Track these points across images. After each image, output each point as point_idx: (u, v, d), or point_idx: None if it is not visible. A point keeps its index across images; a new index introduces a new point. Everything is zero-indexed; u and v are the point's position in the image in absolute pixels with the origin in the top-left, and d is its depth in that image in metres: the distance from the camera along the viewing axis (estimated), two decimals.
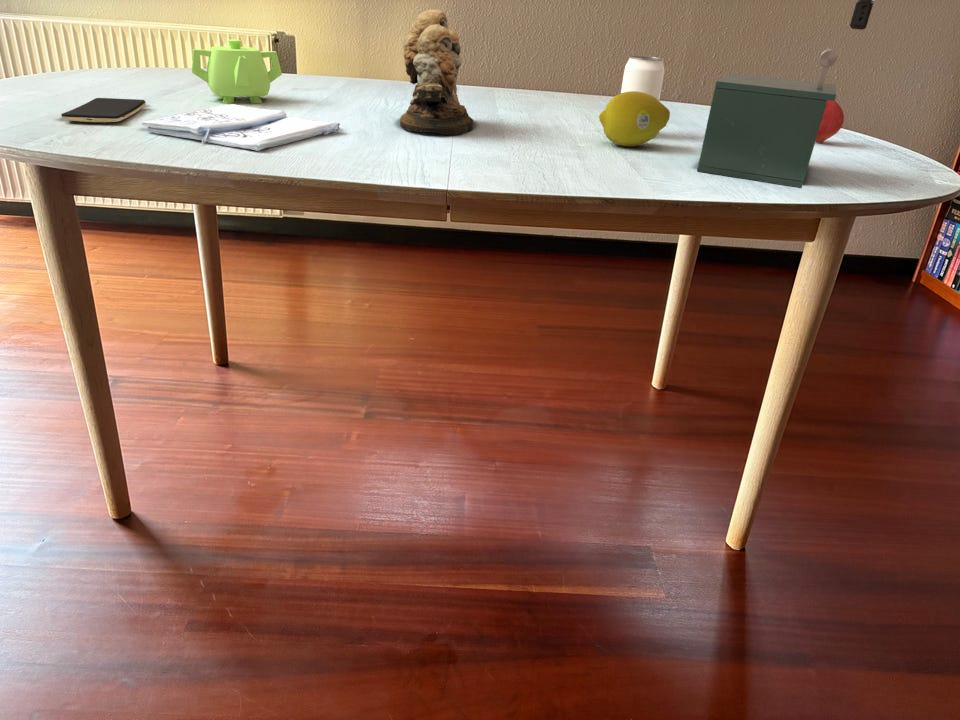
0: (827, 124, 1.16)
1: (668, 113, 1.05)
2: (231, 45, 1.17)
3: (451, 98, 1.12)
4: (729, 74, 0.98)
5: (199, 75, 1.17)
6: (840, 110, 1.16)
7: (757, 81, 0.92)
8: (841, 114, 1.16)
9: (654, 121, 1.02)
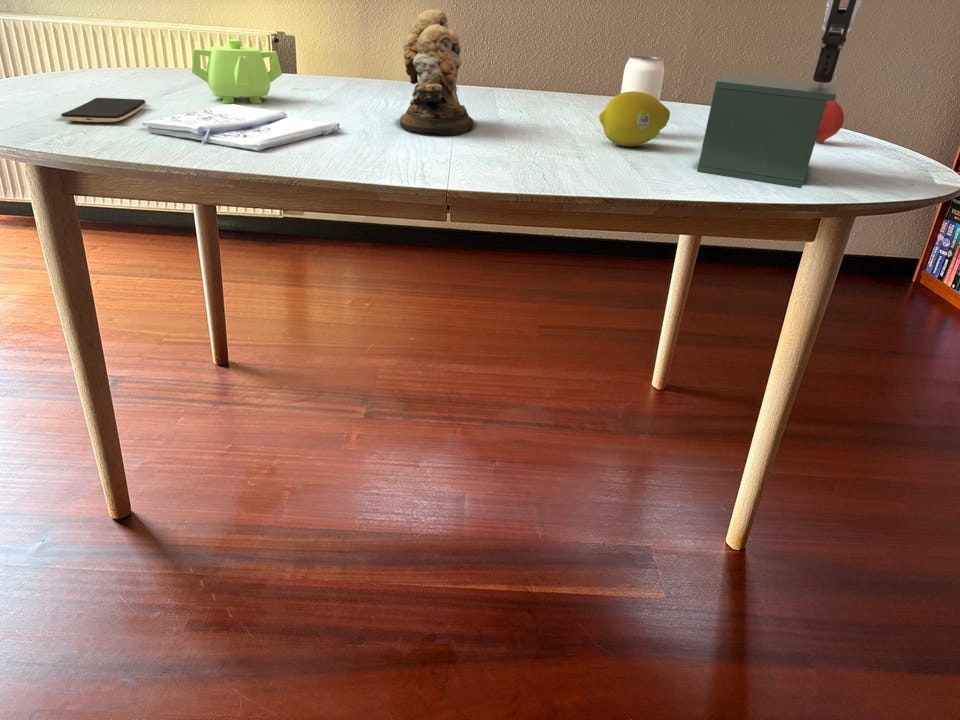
0: (827, 124, 1.16)
1: (668, 113, 1.05)
2: (231, 45, 1.17)
3: (451, 98, 1.12)
4: (729, 74, 0.98)
5: (199, 75, 1.17)
6: (840, 110, 1.16)
7: (757, 81, 0.92)
8: (841, 114, 1.16)
9: (654, 121, 1.02)
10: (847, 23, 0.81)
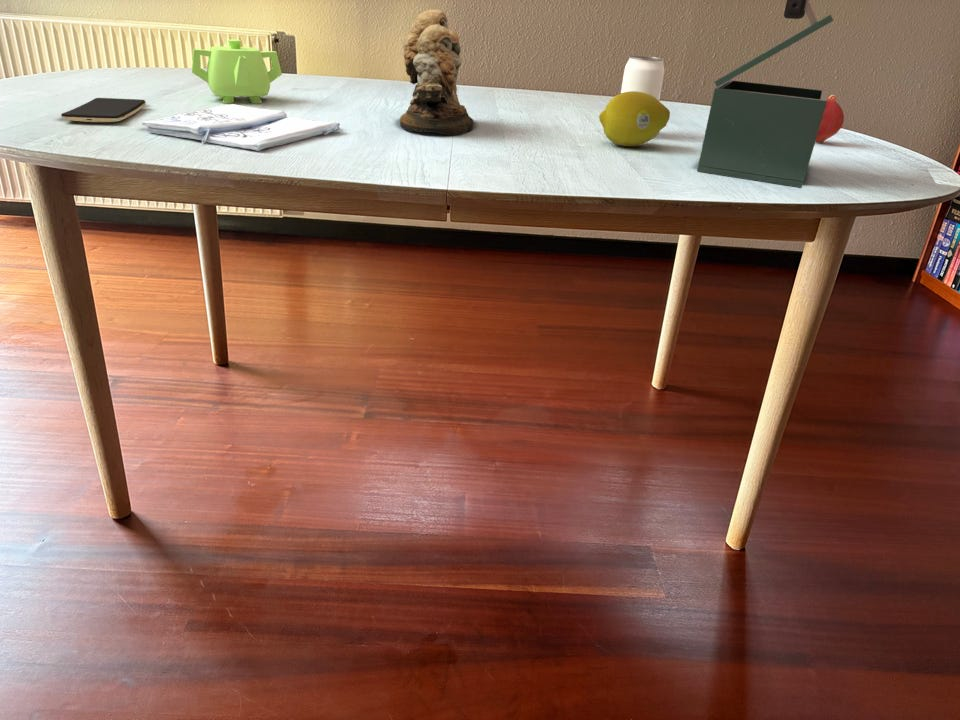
0: (827, 124, 1.16)
1: (668, 113, 1.05)
2: (231, 45, 1.17)
3: (451, 98, 1.12)
4: None
5: (199, 75, 1.17)
6: (840, 110, 1.16)
7: None
8: (841, 114, 1.16)
9: (654, 121, 1.02)
10: None
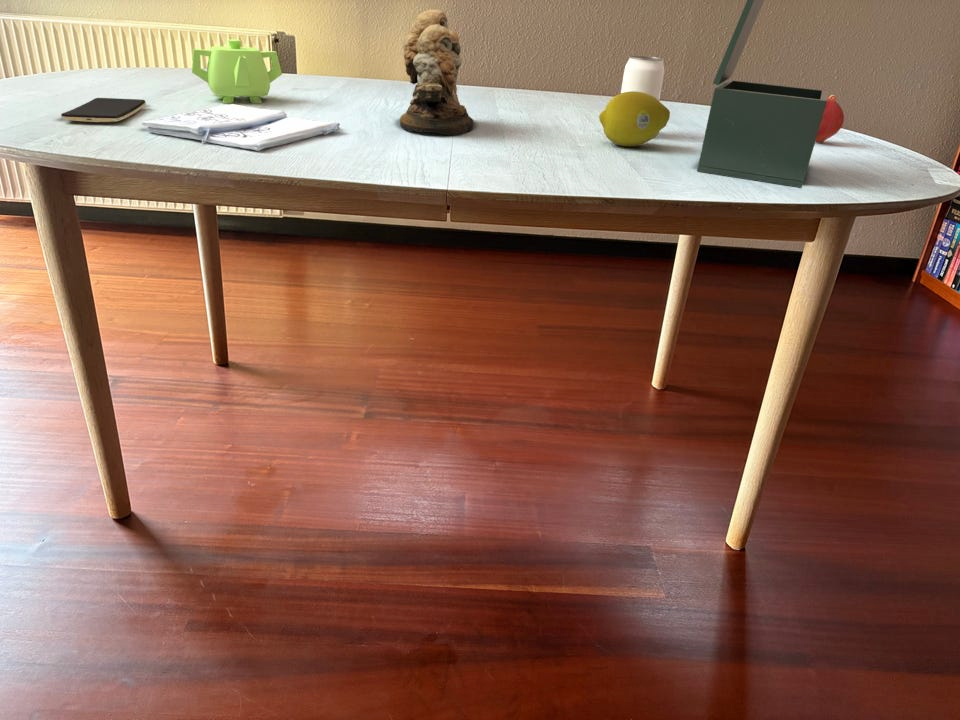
0: (827, 124, 1.16)
1: (668, 113, 1.05)
2: (231, 45, 1.17)
3: (451, 98, 1.12)
4: None
5: (199, 75, 1.17)
6: (840, 110, 1.16)
7: None
8: (841, 114, 1.16)
9: (654, 121, 1.02)
10: None
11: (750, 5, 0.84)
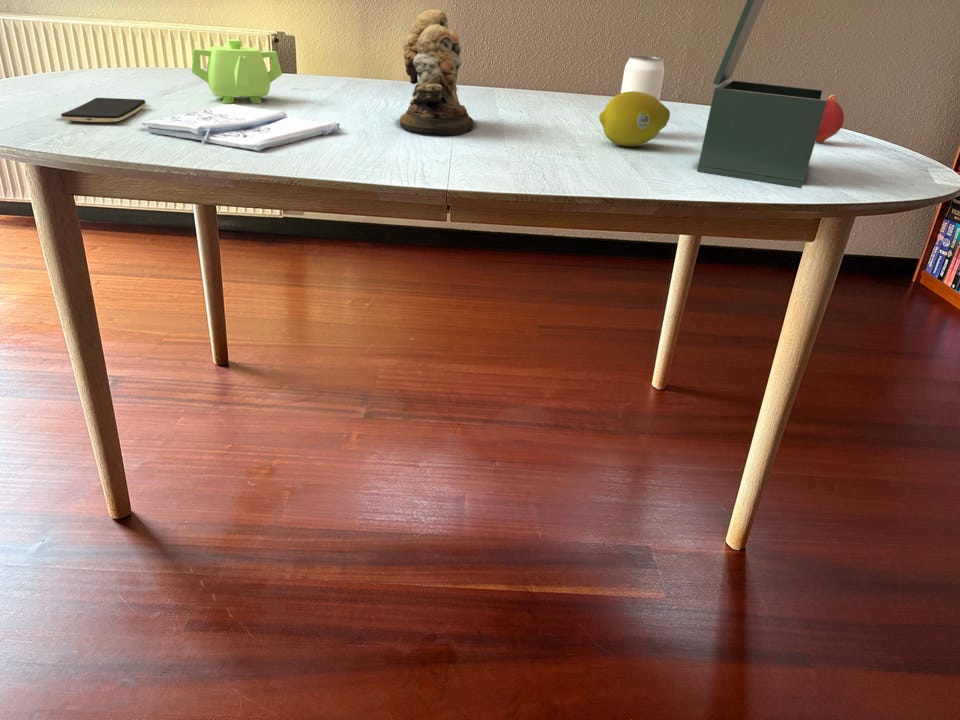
0: (827, 124, 1.16)
1: (668, 113, 1.05)
2: (231, 45, 1.17)
3: (451, 98, 1.12)
4: None
5: (199, 75, 1.17)
6: (840, 110, 1.16)
7: None
8: (841, 114, 1.16)
9: (654, 121, 1.02)
10: None
11: (750, 5, 0.84)
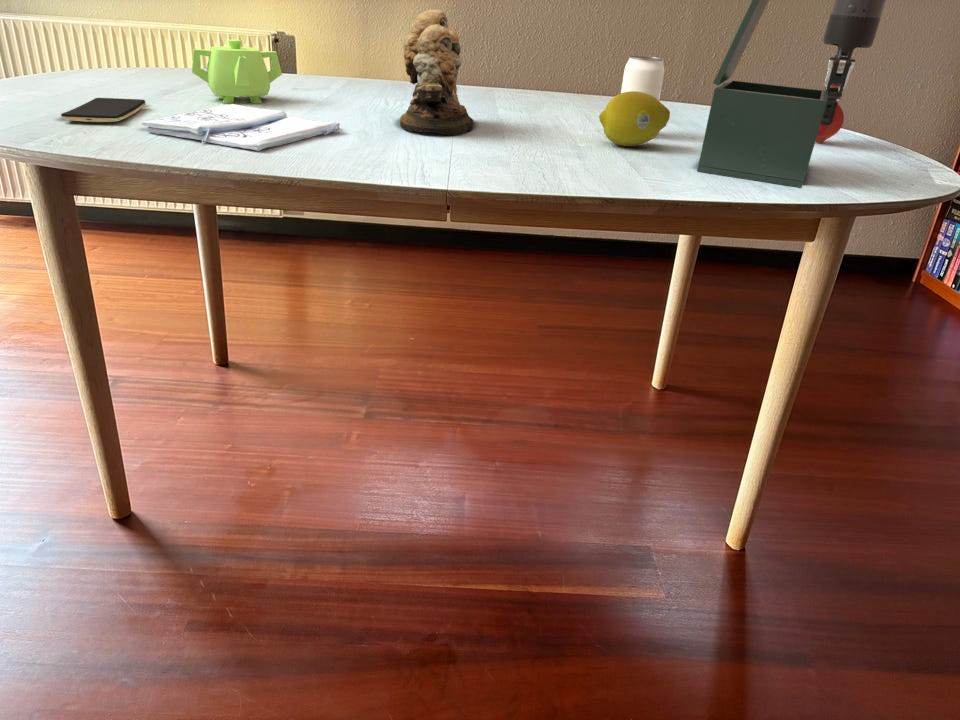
0: None
1: (668, 113, 1.05)
2: (231, 45, 1.17)
3: (451, 98, 1.12)
4: None
5: (199, 75, 1.17)
6: (840, 110, 1.16)
7: None
8: (841, 114, 1.16)
9: (654, 121, 1.02)
10: (843, 83, 1.10)
11: (754, 7, 0.83)
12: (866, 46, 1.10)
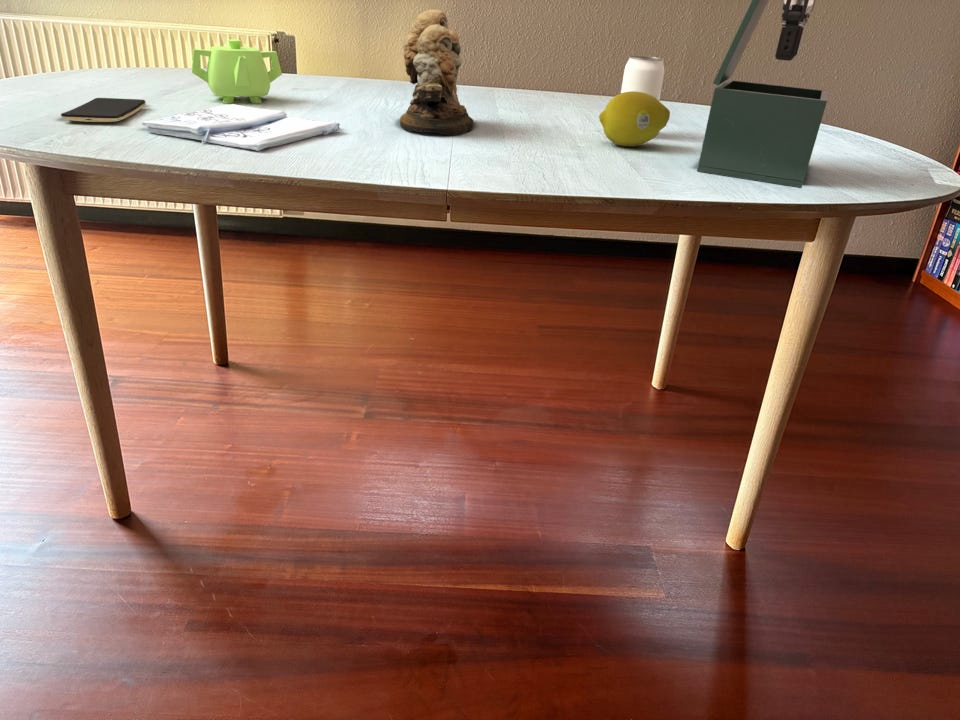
0: None
1: (668, 113, 1.05)
2: (231, 45, 1.17)
3: (451, 98, 1.12)
4: None
5: (199, 75, 1.17)
6: None
7: None
8: None
9: (654, 121, 1.02)
10: None
11: (754, 7, 0.83)
12: None
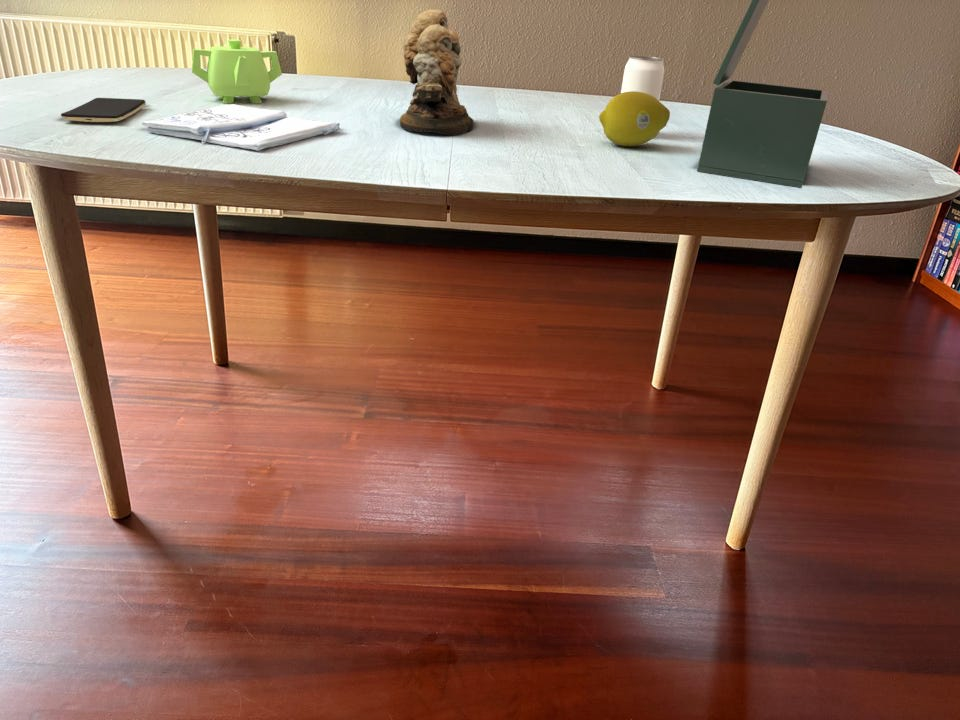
0: None
1: (668, 113, 1.05)
2: (231, 45, 1.17)
3: (451, 98, 1.12)
4: None
5: (199, 75, 1.17)
6: None
7: None
8: None
9: (654, 121, 1.02)
10: None
11: (754, 7, 0.83)
12: None
